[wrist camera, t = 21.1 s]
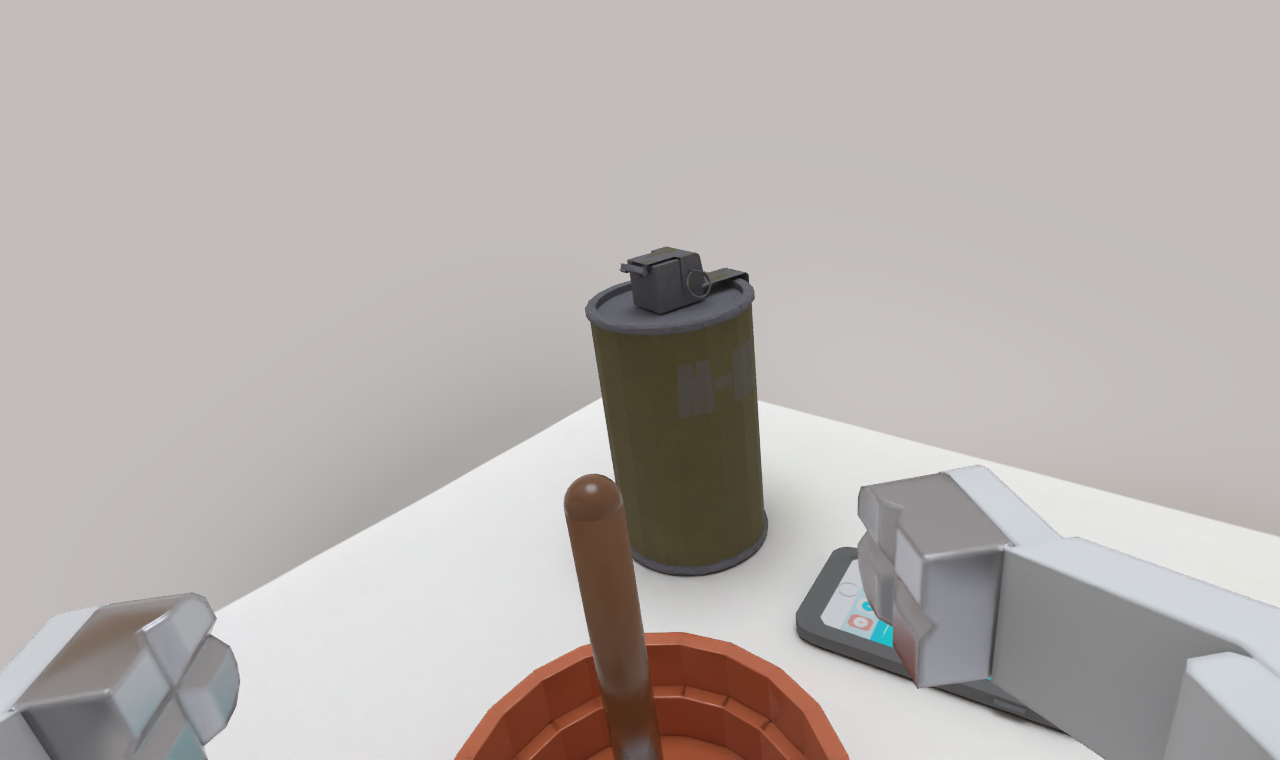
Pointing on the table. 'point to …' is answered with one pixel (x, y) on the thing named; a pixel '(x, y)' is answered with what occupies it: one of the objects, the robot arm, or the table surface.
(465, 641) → the table surface
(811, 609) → the smartphone
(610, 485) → the peg on round base
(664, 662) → the bowl
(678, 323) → the canister
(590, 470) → the table surface
